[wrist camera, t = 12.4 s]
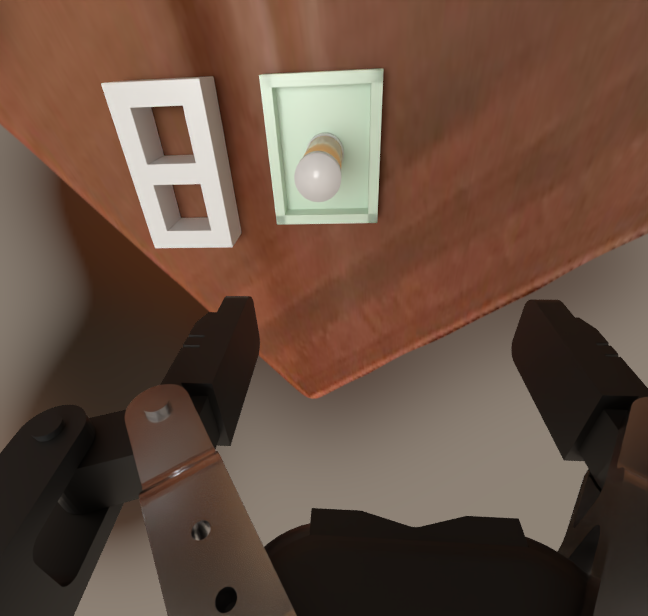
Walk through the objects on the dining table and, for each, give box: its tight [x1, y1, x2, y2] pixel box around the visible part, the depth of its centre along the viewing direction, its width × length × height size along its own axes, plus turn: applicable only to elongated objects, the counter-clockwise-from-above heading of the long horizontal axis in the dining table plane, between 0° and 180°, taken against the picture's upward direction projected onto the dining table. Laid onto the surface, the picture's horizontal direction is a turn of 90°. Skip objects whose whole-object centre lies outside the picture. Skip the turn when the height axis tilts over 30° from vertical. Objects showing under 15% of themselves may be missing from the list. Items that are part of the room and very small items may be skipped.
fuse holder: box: [101, 76, 241, 248], centre depth 39 cm, size 16×9×4 cm, turn 3°
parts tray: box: [259, 68, 383, 224], centre depth 37 cm, size 14×11×2 cm
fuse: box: [294, 132, 344, 202], centre depth 34 cm, size 4×4×10 cm
